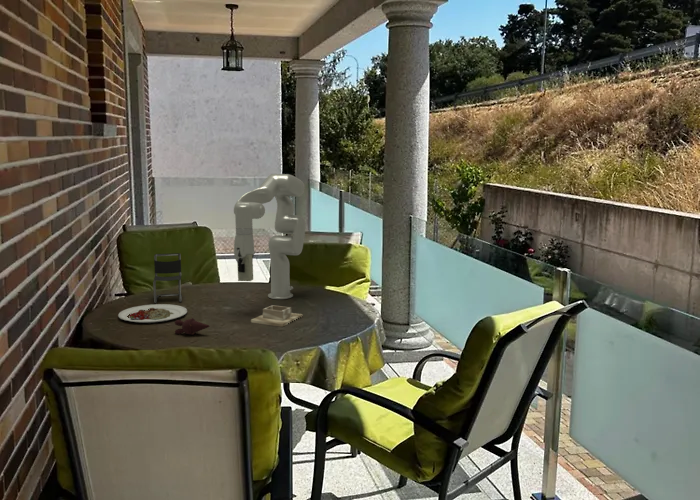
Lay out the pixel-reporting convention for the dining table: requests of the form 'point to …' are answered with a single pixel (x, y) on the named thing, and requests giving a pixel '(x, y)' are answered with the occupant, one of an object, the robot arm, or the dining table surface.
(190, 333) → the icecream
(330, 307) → the dining table surface
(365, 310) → the dining table surface
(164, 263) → the chair
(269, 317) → the socket stand
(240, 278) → the skincare box
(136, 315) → the plated food
